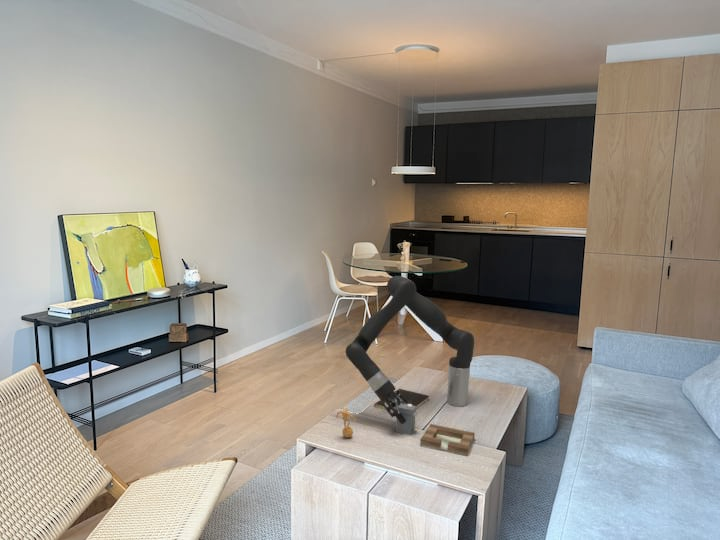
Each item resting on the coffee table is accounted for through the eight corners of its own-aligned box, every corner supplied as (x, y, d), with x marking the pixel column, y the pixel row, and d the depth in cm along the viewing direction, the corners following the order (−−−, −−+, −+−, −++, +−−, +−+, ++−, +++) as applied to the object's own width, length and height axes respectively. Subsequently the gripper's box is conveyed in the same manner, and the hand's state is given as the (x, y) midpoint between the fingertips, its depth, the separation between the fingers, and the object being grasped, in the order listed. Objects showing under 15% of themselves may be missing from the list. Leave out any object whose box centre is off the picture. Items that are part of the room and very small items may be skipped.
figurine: (359, 437, 191) (361, 406, 189) (352, 443, 185) (353, 412, 184) (340, 432, 194) (341, 402, 193) (332, 438, 189) (333, 407, 188)
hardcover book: (429, 400, 233) (429, 395, 233) (407, 416, 214) (407, 411, 213) (398, 393, 241) (398, 388, 241) (373, 407, 222) (374, 402, 222)
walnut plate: (430, 430, 200) (430, 423, 200) (474, 439, 194) (474, 432, 193) (420, 445, 186) (420, 439, 186) (466, 456, 180) (467, 449, 180)
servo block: (397, 427, 202) (398, 400, 200) (416, 431, 199) (418, 404, 197) (393, 431, 197) (395, 404, 196) (413, 435, 194) (415, 407, 193)
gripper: (381, 385, 192) (409, 420, 189) (393, 374, 205) (419, 407, 202) (367, 396, 195) (395, 431, 192) (380, 385, 208) (406, 417, 205)
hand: (407, 418), depth 197 cm, fingers open, 8 cm apart
